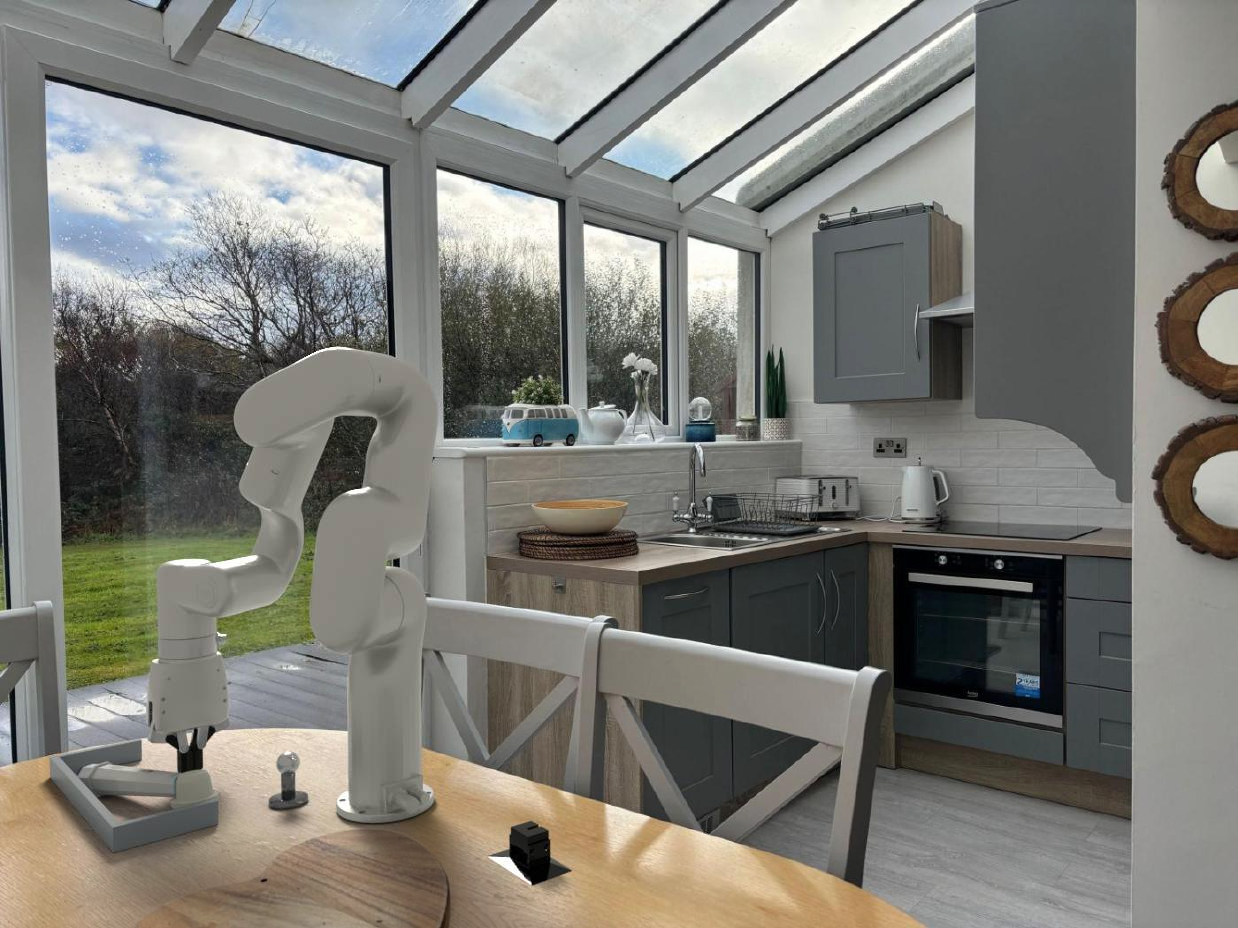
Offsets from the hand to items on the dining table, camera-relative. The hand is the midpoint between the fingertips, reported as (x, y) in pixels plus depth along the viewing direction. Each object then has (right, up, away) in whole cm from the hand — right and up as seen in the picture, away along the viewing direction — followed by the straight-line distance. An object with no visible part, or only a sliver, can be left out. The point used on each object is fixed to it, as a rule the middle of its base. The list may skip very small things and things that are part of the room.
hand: (190, 776), depth 131 cm
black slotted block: (+50, -2, -25) cm, 56 cm away
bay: (-6, -1, -5) cm, 8 cm away
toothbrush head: (-3, -2, -7) cm, 8 cm away
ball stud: (+16, -1, -7) cm, 18 cm away
